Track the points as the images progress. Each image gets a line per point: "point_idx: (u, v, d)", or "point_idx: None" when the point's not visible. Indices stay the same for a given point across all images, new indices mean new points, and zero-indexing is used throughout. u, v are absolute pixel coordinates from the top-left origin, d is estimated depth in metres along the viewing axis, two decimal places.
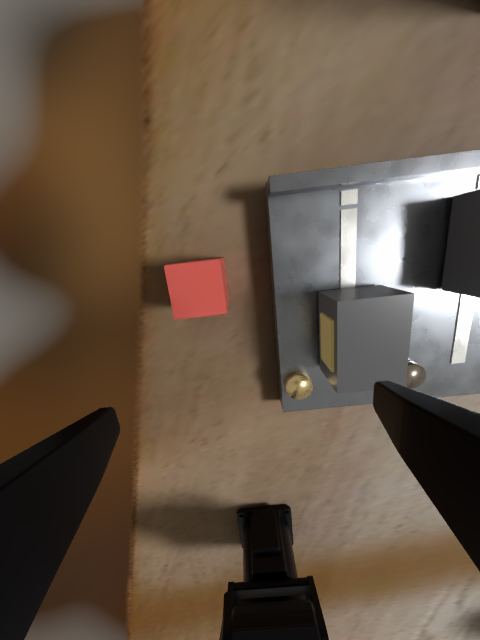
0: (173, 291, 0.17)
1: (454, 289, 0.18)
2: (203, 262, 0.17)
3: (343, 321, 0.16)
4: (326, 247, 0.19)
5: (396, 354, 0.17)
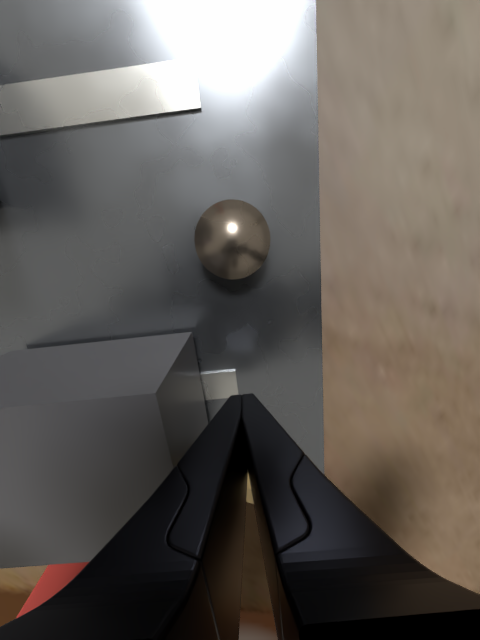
0: None
1: None
2: None
3: None
4: None
5: (45, 437, 0.05)
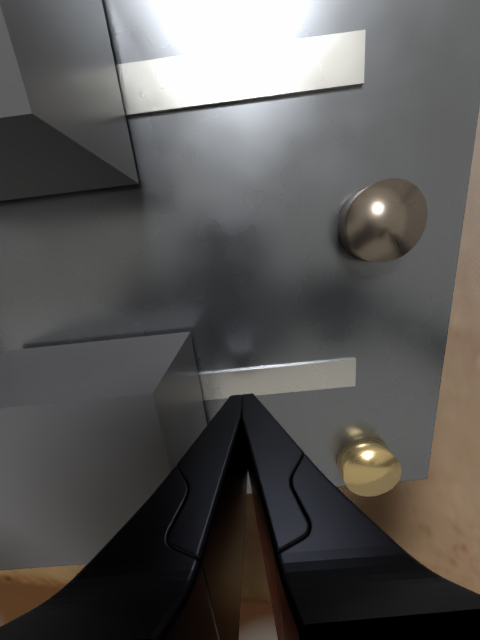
0: None
1: (110, 172, 0.06)
2: None
3: None
4: None
5: (40, 438, 0.05)
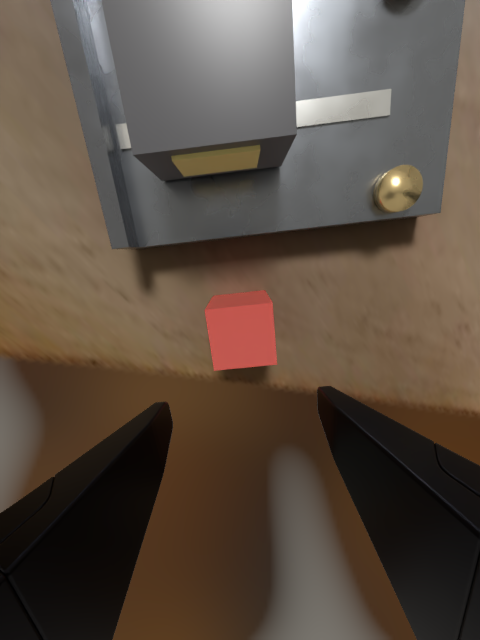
0: (243, 363, 0.15)
1: None
2: (209, 328, 0.14)
3: (163, 139, 0.10)
4: None
5: (219, 13, 0.09)
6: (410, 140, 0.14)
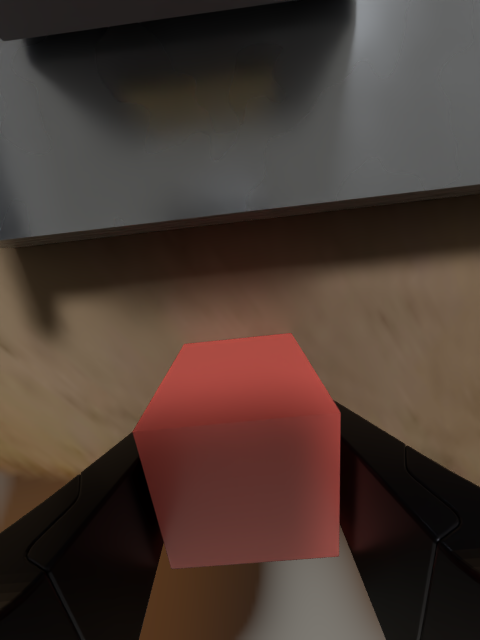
0: (248, 553, 0.06)
1: None
2: (150, 477, 0.05)
3: None
4: None
5: None
6: None
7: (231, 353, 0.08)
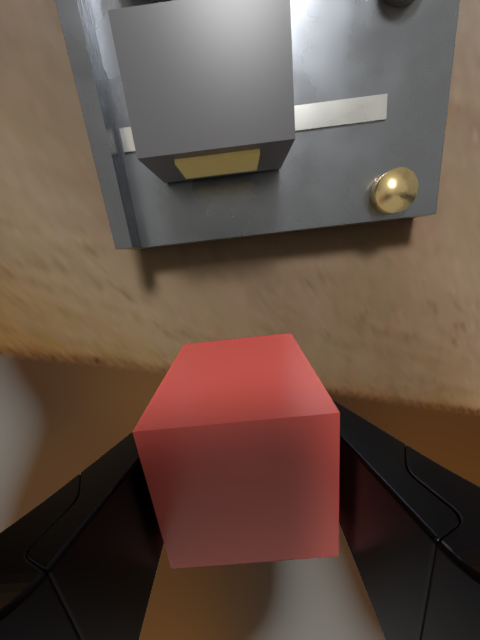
0: (248, 553, 0.06)
1: None
2: (150, 477, 0.05)
3: (166, 143, 0.10)
4: None
5: (220, 23, 0.09)
6: (406, 143, 0.14)
7: (231, 353, 0.08)
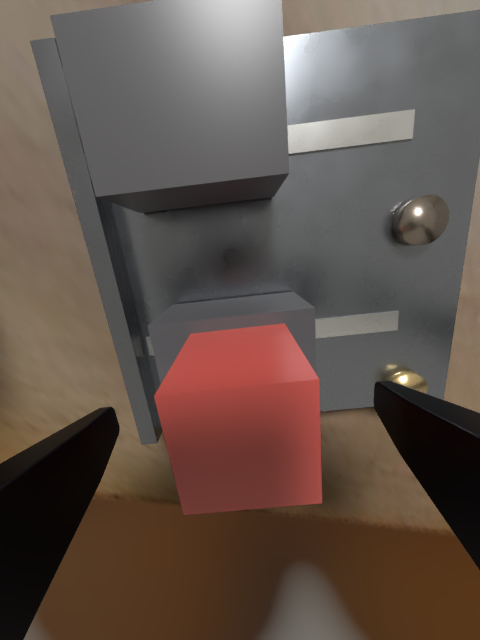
0: (247, 501, 0.07)
1: (272, 192, 0.11)
2: (167, 434, 0.06)
3: None
4: None
5: None
6: (416, 347, 0.15)
7: (232, 340, 0.09)
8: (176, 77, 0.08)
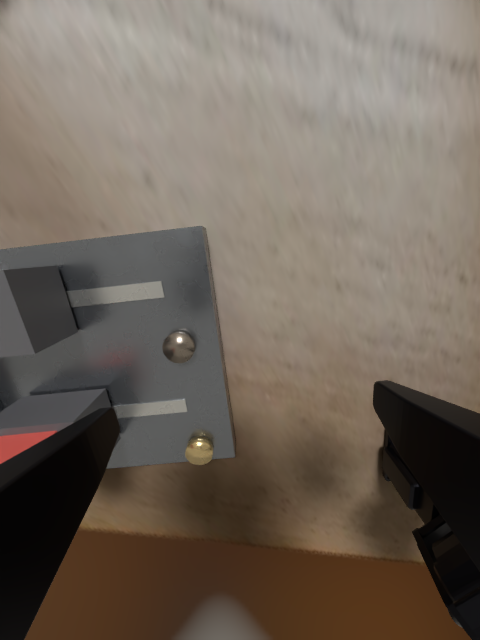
0: None
1: None
2: None
3: None
4: None
5: None
6: (204, 422, 0.21)
7: (7, 448, 0.15)
8: None
